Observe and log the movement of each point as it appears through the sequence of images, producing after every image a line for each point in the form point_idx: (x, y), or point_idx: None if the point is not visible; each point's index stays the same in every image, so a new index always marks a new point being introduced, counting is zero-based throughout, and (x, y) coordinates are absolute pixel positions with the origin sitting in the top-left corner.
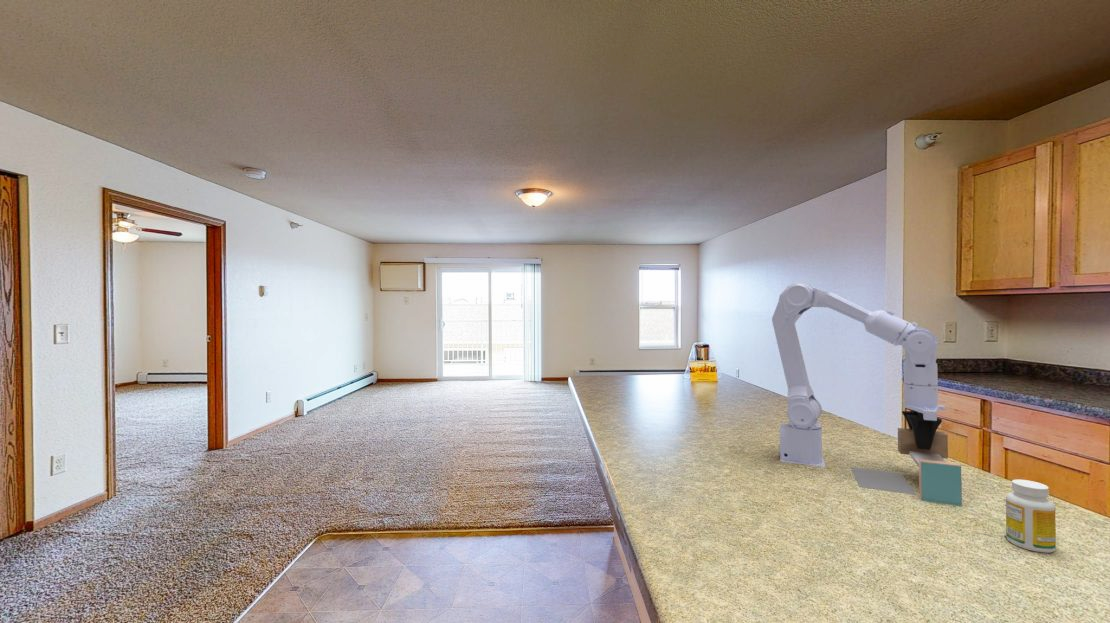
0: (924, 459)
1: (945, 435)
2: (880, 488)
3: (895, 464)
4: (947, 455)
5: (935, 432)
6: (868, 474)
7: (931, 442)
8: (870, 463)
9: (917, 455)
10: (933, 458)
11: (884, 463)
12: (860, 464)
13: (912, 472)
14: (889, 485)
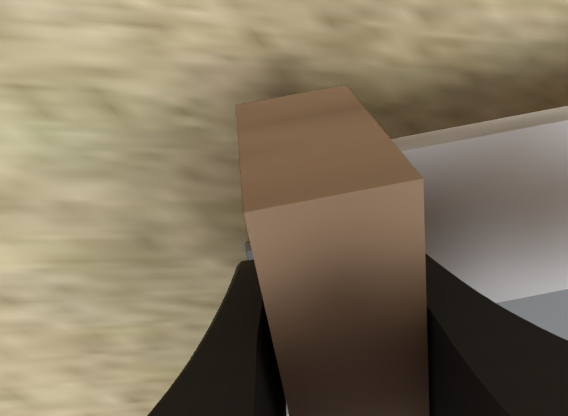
0: (558, 245)
1: (422, 197)
2: (555, 309)
3: (23, 269)
4: (350, 95)
5: (341, 293)
6: None
7: (436, 266)
8: (107, 357)
9: (473, 282)
10: (511, 195)
11: (50, 311)
12: (162, 385)
13: (131, 197)
14: None
